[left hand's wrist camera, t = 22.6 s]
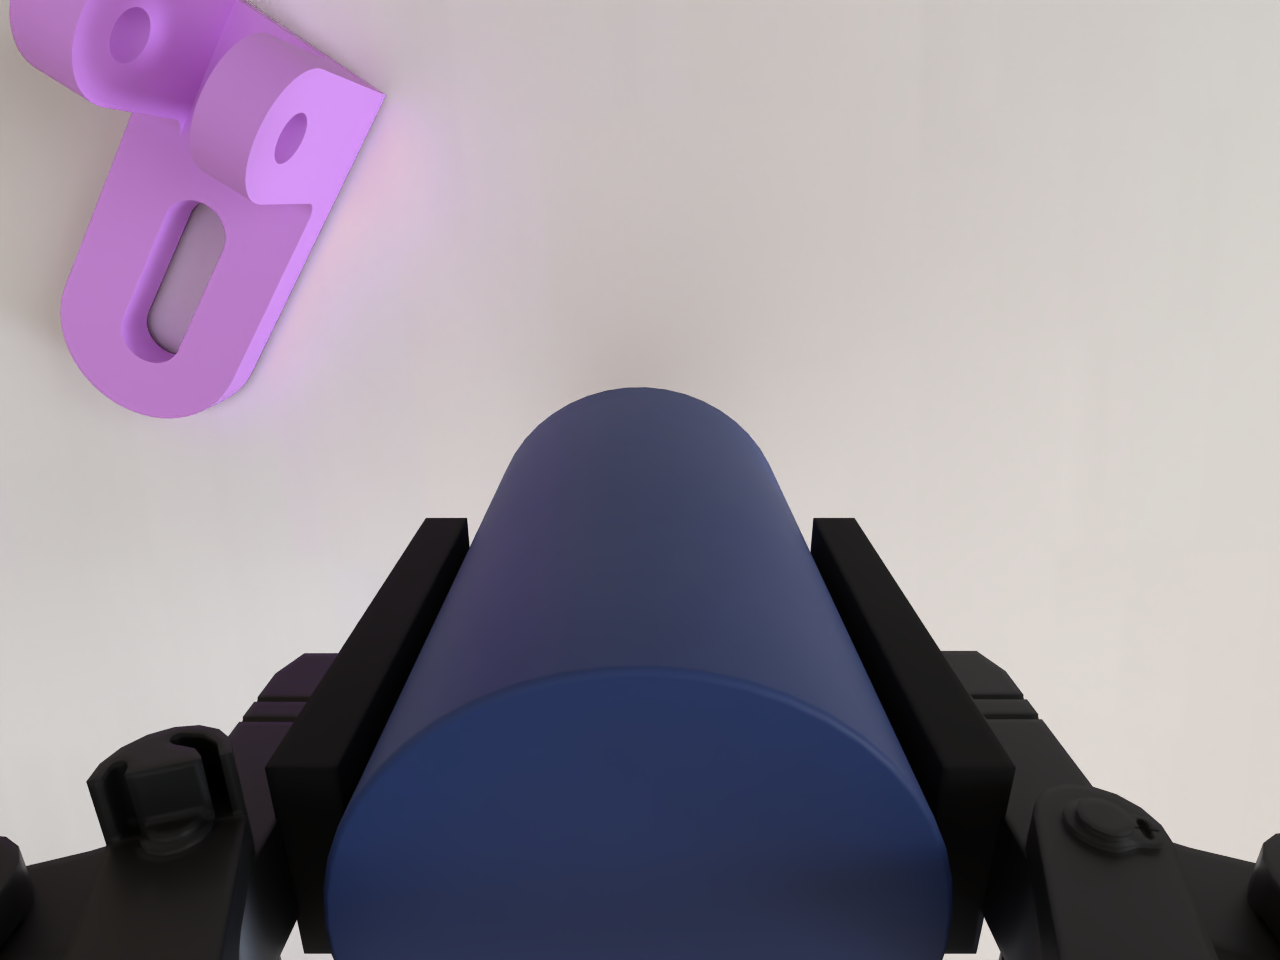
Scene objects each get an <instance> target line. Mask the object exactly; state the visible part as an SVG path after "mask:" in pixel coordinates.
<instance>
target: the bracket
mask: <svg viewBox="0 0 1280 960" xmlns="http://www.w3.org/2000/svg"><path fill="white" fill-rule="evenodd" d="M10 23H11V30H12V34H13V37H14V40H15V43H16V45H17V47H18V49H19V51H20V53H21V54H22V56H23V57H24V58H25V59H26V60H27V62H29V63H30V64H31V65H32V66H34V67H35V68H37V69H38V70H40V71H41V72H43V73H45V74H46V75H48V76H50V77H51V78H53V79H54V80H56V81H58V82H59V83H61V84H62V85H64V86H66V87H67V88H69V89H71V90H72V91H74V92H75V93H77V94H79V95H80V96H82V97H84V98H85V99H87V100H88V101H90V102H92V103H93V104H95V105H98V106H101V107H105V108H111V109H116V110H122V111H128V112H132V114H131V117H130V119H129V122H128V125H127V127H126V130H125V132H124V135H123V138H122V140H121V143H120V145H119V148H118V151H117V153H116V156H115V158H114V161H113V164H112V166H111V169H110V171H109V174H108V177H107V179H106V182H105V184H104V187H103V190H102V192H101V195H100V197H99V200H98V203H97V205H96V208H95V210H94V213H93V215H92V218H91V221H90V223H89V226H88V228H87V231H86V234H85V236H84V239H83V241H82V244H81V247H80V249H79V252H78V254H77V257H76V260H75V262H74V265H73V267H72V270H71V273H70V275H69V278H68V280H67V283H66V286H65V289H64V292H63V296H62V301H61V324H62V330H63V334H64V338H65V341H66V344H67V346H68V349H69V351H70V353H71V355H72V357H73V359H74V361H75V363H76V364H77V366H78V367H79V369H80V370H81V371H82V373H83V374H84V375H85V377H86V378H87V379H88V380H89V381H90V382H91V383H92V384H93V385H94V386H95V387H96V388H97V389H98V390H99V391H100V392H101V393H103V394H104V395H105V396H106V397H108V398H109V399H111V400H112V401H114V402H115V403H117V404H119V405H121V406H123V407H124V408H127V409H129V410H131V411H134V412H137V413H140V414H143V415H147V416H151V417H158V418H180V417H185V416H190V415H193V414H196V413H199V412H201V411H203V410H205V409H207V408H209V407H211V406H213V405H215V404H217V403H219V402H221V401H223V400H225V399H227V398H229V397H230V396H232V395H233V394H234V393H236V392H237V391H238V390H239V389H240V388H241V387H242V386H243V385H244V384H245V382H246V381H247V380H248V378H249V377H250V375H251V373H252V371H253V369H254V367H255V365H256V363H257V361H258V359H259V357H260V355H261V353H262V350H263V348H264V346H265V344H266V342H267V340H268V338H269V336H270V334H271V332H272V330H273V328H274V326H275V324H276V322H277V319H278V317H279V315H280V313H281V311H282V309H283V307H284V305H285V303H286V301H287V299H288V297H289V295H290V293H291V290H292V288H293V286H294V284H295V282H296V280H297V278H298V276H299V274H300V272H301V270H302V268H303V266H304V264H305V261H306V259H307V257H308V255H309V253H310V251H311V249H312V247H313V245H314V243H315V241H316V239H317V237H318V235H319V232H320V230H321V228H322V226H323V224H324V222H325V220H326V218H327V216H328V214H329V212H330V210H331V208H332V206H333V204H334V201H335V199H336V197H337V195H338V193H339V191H340V189H341V187H342V185H343V183H344V181H345V179H346V177H347V175H348V172H349V170H350V168H351V166H352V164H353V162H354V160H355V158H356V156H357V154H358V152H359V150H360V148H361V146H362V143H363V141H364V139H365V137H366V135H367V133H368V131H369V129H370V127H371V125H372V123H373V121H374V119H375V117H376V114H377V112H378V110H379V108H380V106H381V104H382V102H383V100H384V98H385V96H386V95H385V94H383V93H382V92H380V91H379V90H377V89H376V88H374V87H373V86H371V85H370V84H368V83H367V82H365V81H364V80H362V79H361V78H359V77H358V76H356V75H355V74H353V73H352V72H350V71H349V70H347V69H346V68H344V67H343V66H341V65H340V64H338V63H337V62H335V61H334V60H332V59H331V58H329V57H328V56H326V55H325V54H323V53H322V52H320V51H319V50H317V49H316V48H314V47H313V46H311V45H310V44H308V43H307V42H305V41H304V40H302V39H301V38H299V37H298V36H296V35H295V34H293V33H292V32H290V31H289V30H287V29H286V28H284V27H283V26H282V25H280V24H279V23H277V22H276V21H274V20H273V19H271V18H270V17H268V16H267V15H265V14H264V13H262V12H261V11H259V10H258V9H256V8H255V7H253V6H252V5H250V4H249V3H247V2H246V1H244V0H10ZM199 203H203V204H205V205H207V206H208V207H210V208H211V209H212V210H213V211H214V212H215V213H216V214H217V215H218V217H219V218H220V220H221V222H222V224H223V226H224V229H225V236H226V240H225V246H224V249H223V251H222V253H221V256H220V258H219V260H218V262H217V264H216V267H215V269H214V271H213V273H212V276H211V278H210V280H209V282H208V285H207V287H206V289H205V291H204V294H203V296H202V298H201V300H200V303H199V305H198V307H197V309H196V312H195V314H194V316H193V318H192V321H191V323H190V325H189V327H188V330H187V332H186V334H185V336H184V338H183V341H182V343H181V345H180V347H179V350H178V352H177V353H176V354H172V353H169V352H167V351H165V350H163V349H162V348H161V347H159V346H158V345H157V344H156V343H155V342H154V340H153V339H152V337H151V336H150V334H149V331H148V328H147V316H148V312H149V310H150V308H151V305H152V303H153V301H154V298H155V296H156V294H157V291H158V289H159V287H160V284H161V282H162V280H163V277H164V275H165V273H166V270H167V268H168V265H169V263H170V261H171V258H172V256H173V254H174V251H175V249H176V247H177V244H178V242H179V240H180V237H181V235H182V233H183V230H184V228H185V226H186V223H187V221H188V218H189V216H190V214H191V212H192V210H193V209H194V208H195V206H197V205H198V204H199Z"/></svg>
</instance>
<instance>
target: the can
mask: <svg viewBox="0 0 1280 960" xmlns="http://www.w3.org/2000/svg"><path fill="white" fill-rule="evenodd" d="M323 892H324V914H325V927H326V931H327V936H328V940H329V945H330V949H331V954H332V956H333V959H334V960H942V959H943V956H944V953H945V951H946V948H947V944H948V938H949V932H950V927H951V921H952V913H953V900H952V875H951V870H950V865H949V860H948V855H947V850H946V846H945V844H944V841H943V839H942V836H941V834H940V831H939V828H938V826H937V823H936V821H935V818H934V816H933V814H932V812H931V809H930V807H929V805H928V803H927V801H926V799H925V797H924V795H923V792H922V790H921V788H920V786H919V784H918V782H917V780H916V777H915V775H914V773H913V771H912V769H911V767H910V765H909V762H908V760H907V758H906V756H905V754H904V752H903V750H902V747H901V745H900V743H899V741H898V739H897V737H896V735H895V732H894V730H893V728H892V726H891V724H890V722H889V720H888V718H887V715H886V713H885V711H884V709H883V707H882V705H881V703H880V700H879V698H878V696H877V694H876V692H875V690H874V688H873V685H872V683H871V681H870V679H869V677H868V675H867V673H866V670H865V668H864V666H863V664H862V662H861V660H860V658H859V655H858V653H857V651H856V649H855V647H854V645H853V643H852V641H851V638H850V636H849V634H848V632H847V630H846V628H845V626H844V623H843V621H842V619H841V617H840V615H839V613H838V611H837V608H836V606H835V604H834V602H833V600H832V598H831V596H830V593H829V591H828V589H827V587H826V585H825V583H824V581H823V578H822V576H821V574H820V572H819V570H818V568H817V566H816V564H815V561H814V559H813V557H812V555H811V553H810V551H809V549H808V546H807V544H806V542H805V540H804V538H803V536H802V534H801V531H800V529H799V527H798V525H797V523H796V521H795V519H794V516H793V514H792V512H791V510H790V508H789V506H788V504H787V502H786V499H785V497H784V495H783V493H782V491H781V489H780V487H779V484H778V482H777V480H776V478H775V476H774V474H773V472H772V469H771V467H770V465H769V463H768V462H767V460H766V458H765V456H764V455H763V453H762V451H761V449H760V448H759V447H758V446H757V444H756V443H755V442H754V440H753V439H752V438H751V437H750V435H749V434H748V433H747V432H746V431H745V430H744V429H743V428H742V427H740V426H739V425H738V424H737V423H736V422H735V421H734V420H733V419H731V418H730V417H728V416H727V415H726V414H724V413H723V412H722V411H720V410H718V409H717V408H715V407H713V406H711V405H709V404H707V403H706V402H704V401H701V400H699V399H696V398H693V397H691V396H688V395H686V394H682V393H678V392H674V391H670V390H665V389H656V388H647V387H642V388H621V389H615V390H608V391H604V392H600V393H597V394H593V395H590V396H587V397H584V398H582V399H580V400H577V401H575V402H573V403H570V404H568V405H567V406H565V407H563V408H562V409H560V410H558V411H557V412H555V413H553V414H552V415H551V416H550V417H548V418H547V419H546V420H545V421H543V422H542V423H541V424H539V425H538V426H537V427H536V428H535V429H534V430H533V432H532V433H531V434H530V435H529V436H528V437H527V438H526V439H525V440H524V442H523V443H522V444H521V446H520V447H519V449H518V450H517V451H516V453H515V454H514V456H513V458H512V460H511V462H510V464H509V466H508V468H507V470H506V472H505V474H504V476H503V478H502V480H501V482H500V485H499V487H498V489H497V491H496V493H495V495H494V497H493V499H492V502H491V504H490V506H489V508H488V510H487V512H486V514H485V516H484V518H483V521H482V523H481V525H480V527H479V529H478V531H477V533H476V535H475V537H474V540H473V542H472V544H471V546H470V548H469V550H468V552H467V554H466V557H465V559H464V561H463V563H462V565H461V567H460V569H459V571H458V573H457V576H456V578H455V580H454V582H453V584H452V586H451V588H450V590H449V592H448V595H447V597H446V599H445V601H444V603H443V605H442V607H441V609H440V612H439V614H438V616H437V618H436V620H435V622H434V624H433V626H432V628H431V631H430V633H429V635H428V637H427V639H426V641H425V643H424V645H423V647H422V650H421V652H420V654H419V656H418V658H417V660H416V662H415V664H414V667H413V669H412V671H411V673H410V675H409V677H408V679H407V681H406V683H405V686H404V688H403V690H402V692H401V694H400V696H399V698H398V700H397V702H396V705H395V707H394V709H393V711H392V713H391V715H390V717H389V719H388V722H387V724H386V726H385V728H384V730H383V732H382V734H381V736H380V738H379V741H378V743H377V745H376V747H375V749H374V751H373V753H372V755H371V757H370V760H369V762H368V764H367V766H366V768H365V770H364V772H363V774H362V777H361V779H360V781H359V783H358V785H357V787H356V789H355V791H354V793H353V796H352V798H351V800H350V802H349V804H348V806H347V808H346V810H345V812H344V815H343V817H342V819H341V821H340V823H339V825H338V827H337V830H336V834H335V837H334V840H333V843H332V846H331V849H330V852H329V855H328V859H327V866H326V873H325V881H324V888H323Z"/></svg>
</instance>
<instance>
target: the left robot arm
mask: <svg viewBox="0 0 1280 960" xmlns="http://www.w3.org/2000/svg"><path fill="white" fill-rule="evenodd" d="M469 548H470V547H469V536H468V524H467V518H426V519H425V520H424V522H423V523H422V525H421V527H420V528H419V530H418V531H417V533H416V534H415V536H414V537H413V539H412V540H411V542H410V544H409V545H408V547H407V548H406V550H405V551H404V553H403V554H402V556H401V557H400V559H399V561H398V562H397V564H396V565H395V567H394V568H393V570H392V571H391V573H390V574H389V576H388V578H387V579H386V581H385V582H384V584H383V585H382V587H381V588H380V590H379V591H378V593H377V594H376V596H375V598H374V599H373V601H372V602H371V604H370V605H369V607H368V608H367V610H366V611H365V613H364V615H363V616H362V618H361V619H360V621H359V622H358V624H357V625H356V627H355V628H354V630H353V632H352V633H351V635H350V636H349V638H348V639H347V641H346V642H345V644H344V645H343V647H342V649H341V650H340V652H339V653H304V654H303V655H301V656H300V657H299V658H297V659H296V660H294V661H293V662H291V663H290V664H289V665H287V666H286V667H284V668H283V669H281V670H280V671H279V672H277V673H276V674H275V675H274V676H273V678H272V679H271V680H270V682H269V683H268V684H267V686H266V687H265V688H264V690H263V691H262V692H261V694H260V695H259V696H258V701H257V702H254V703H253V704H252V706H251V707H250V708H249V710H248V711H247V712H246V714H245V715H244V716H243V721H242V722H239V723H238V724H237V726H236V727H235V728H234V730H233V731H232V732H231V734H230V735H229V736H227V735H225V734H224V733H223V732H222V731H221V730H219V729H216V728H211V727H206V726H201V725H196V726H183V727H174V728H170V729H166V730H163V731H159V732H156V733H152V734H149V735H146V736H144V737H142V738H140V739H138V740H136V741H134V742H132V743H130V744H128V745H126V746H124V747H122V748H120V749H119V750H117V751H116V752H115V753H114V754H112V755H111V756H110V757H108V758H107V759H106V760H104V761H103V762H102V763H100V764H99V766H98V767H97V768H96V770H95V771H94V772H93V774H92V775H91V776H90V778H89V779H88V780H87V785H88V788H89V792H90V795H91V798H92V801H93V804H94V807H95V810H96V814H97V817H98V820H99V823H100V826H101V829H102V832H103V836H104V839H105V842H106V846H105V847H102V848H99V849H96V850H92V851H89V852H84V853H80V854H76V855H72V856H67V857H63V858H59V859H55V860H50V861H46V862H42V863H38V864H33V865H29V866H26V865H25V862H24V860H23V857H22V854H21V852H20V849H19V846H17V845H16V844H15V843H13V842H12V841H11V840H9V839H8V838H7V837H2V836H0V960H281V957H280V955H281V952H282V950H283V948H284V946H285V944H286V942H287V940H288V937H289V935H290V933H291V931H292V929H293V927H294V925H295V922H296V920H297V922H298V926H299V931H300V936H301V940H302V945H303V950H304V954H331V949H330V945H329V940H328V936H327V931H326V927H325V914H324V892H323V888H324V881H325V873H326V866H327V859H328V855H329V852H330V849H331V846H332V843H333V840H334V837H335V834H336V830H337V827H338V825H339V823H340V821H341V819H342V817H343V815H344V812H345V810H346V808H347V806H348V804H349V802H350V800H351V798H352V796H353V793H354V791H355V789H356V787H357V785H358V783H359V781H360V779H361V777H362V774H363V772H364V770H365V768H366V766H367V764H368V762H369V760H370V757H371V755H372V753H373V751H374V749H375V747H376V745H377V743H378V741H379V738H380V736H381V734H382V732H383V730H384V728H385V726H386V724H387V722H388V719H389V717H390V715H391V713H392V711H393V709H394V707H395V705H396V702H397V700H398V698H399V696H400V694H401V692H402V690H403V688H404V686H405V683H406V681H407V679H408V677H409V675H410V673H411V671H412V669H413V667H414V664H415V662H416V660H417V658H418V656H419V654H420V652H421V650H422V647H423V645H424V643H425V641H426V639H427V637H428V635H429V633H430V631H431V628H432V626H433V624H434V622H435V620H436V618H437V616H438V614H439V612H440V609H441V607H442V605H443V603H444V601H445V599H446V597H447V595H448V592H449V590H450V588H451V586H452V584H453V582H454V580H455V578H456V576H457V573H458V571H459V569H460V567H461V565H462V563H463V561H464V559H465V557H466V554H467V552H468V550H469ZM811 555H812V557H813V559H814V561H815V564H816V566H817V568H818V570H819V572H820V574H821V576H822V578H823V581H824V583H825V585H826V587H827V589H828V591H829V593H830V596H831V598H832V600H833V602H834V604H835V606H836V608H837V611H838V613H839V615H840V617H841V619H842V621H843V623H844V626H845V628H846V630H847V632H848V634H849V636H850V638H851V641H852V643H853V645H854V647H855V649H856V651H857V653H858V655H859V658H860V660H861V662H862V664H863V666H864V668H865V670H866V673H867V675H868V677H869V679H870V681H871V683H872V685H873V688H874V690H875V692H876V694H877V696H878V698H879V700H880V703H881V705H882V707H883V709H884V711H885V713H886V715H887V718H888V720H889V722H890V724H891V726H892V728H893V730H894V732H895V735H896V737H897V739H898V741H899V743H900V745H901V747H902V750H903V752H904V754H905V756H906V758H907V760H908V762H909V765H910V767H911V769H912V771H913V773H914V775H915V777H916V780H917V782H918V784H919V786H920V788H921V790H922V792H923V795H924V797H925V799H926V801H927V803H928V805H929V807H930V809H931V812H932V814H933V816H934V818H935V821H936V823H937V826H938V828H939V831H940V834H941V836H942V839H943V841H944V844H945V846H946V850H947V855H948V860H949V865H950V870H951V875H952V900H953V913H952V921H951V927H950V932H949V938H948V944H947V948H946V951H945V953H944V954H976V952H977V947H978V943H979V938H980V933H981V929H982V924H983V919H984V918H985V920H986V922H987V924H988V926H989V928H990V930H991V932H992V935H993V937H994V939H995V941H996V943H997V945H998V947H999V949H1000V957H999V960H1280V833H1279V834H1275V835H1274V836H1272V837H1271V838H1270V839H1268V840H1267V841H1266V842H1264V843H1263V846H1262V848H1261V851H1260V854H1259V856H1258V859H1257V862H1256V863H1252V862H1248V861H1244V860H1240V859H1235V858H1231V857H1227V856H1223V855H1218V854H1214V853H1210V852H1205V851H1201V850H1197V849H1193V848H1189V847H1186V846H1182V845H1179V844H1176V843H1173V842H1172V841H1171V839H1170V838H1169V836H1168V835H1167V833H1166V831H1165V830H1164V828H1163V827H1162V825H1161V824H1159V823H1158V822H1157V821H1156V820H1155V819H1154V818H1152V817H1151V816H1150V815H1149V814H1148V813H1147V812H1145V811H1144V810H1143V809H1142V808H1141V807H1139V806H1137V805H1135V804H1133V803H1131V802H1130V801H1128V800H1126V799H1124V798H1122V797H1120V796H1119V795H1117V794H1114V793H1111V792H1108V791H1105V790H1101V789H1098V788H1095V787H1093V786H1092V785H1091V784H1090V782H1089V781H1088V780H1087V778H1086V777H1085V776H1084V774H1083V773H1082V772H1081V770H1080V769H1079V768H1078V766H1077V765H1076V764H1075V763H1074V761H1073V760H1072V759H1071V757H1070V756H1069V755H1068V753H1067V752H1066V751H1065V749H1064V748H1063V747H1062V745H1061V744H1060V743H1059V741H1058V740H1057V739H1056V737H1055V736H1054V735H1053V733H1052V732H1051V731H1050V729H1049V728H1048V727H1047V725H1046V724H1045V723H1044V721H1043V720H1042V719H1038V714H1037V712H1036V711H1035V710H1034V708H1033V707H1032V706H1031V704H1030V703H1029V702H1028V700H1027V699H1024V698H1023V694H1022V692H1021V691H1020V690H1019V688H1018V687H1017V686H1016V684H1015V683H1014V682H1013V680H1012V679H1011V678H1010V676H1009V675H1008V674H1007V672H1006V671H1004V670H1003V669H1002V668H1000V667H999V666H997V665H996V664H994V663H993V662H992V661H990V660H989V659H987V658H986V657H984V656H983V655H981V654H980V653H979V652H977V651H940V649H939V648H938V646H937V645H936V643H935V642H934V640H933V639H932V637H931V635H930V634H929V632H928V631H927V629H926V628H925V626H924V625H923V623H922V622H921V620H920V618H919V617H918V615H917V614H916V612H915V611H914V609H913V608H912V606H911V605H910V603H909V601H908V600H907V598H906V597H905V595H904V594H903V592H902V591H901V589H900V588H899V586H898V584H897V583H896V581H895V580H894V578H893V577H892V575H891V574H890V572H889V571H888V569H887V567H886V566H885V564H884V563H883V561H882V560H881V558H880V557H879V555H878V554H877V552H876V551H875V549H874V547H873V546H872V544H871V543H870V541H869V540H868V538H867V537H866V535H865V534H864V532H863V530H862V529H861V527H860V526H859V524H858V523H857V521H856V520H855V518H813V530H812V541H811Z"/></svg>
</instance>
